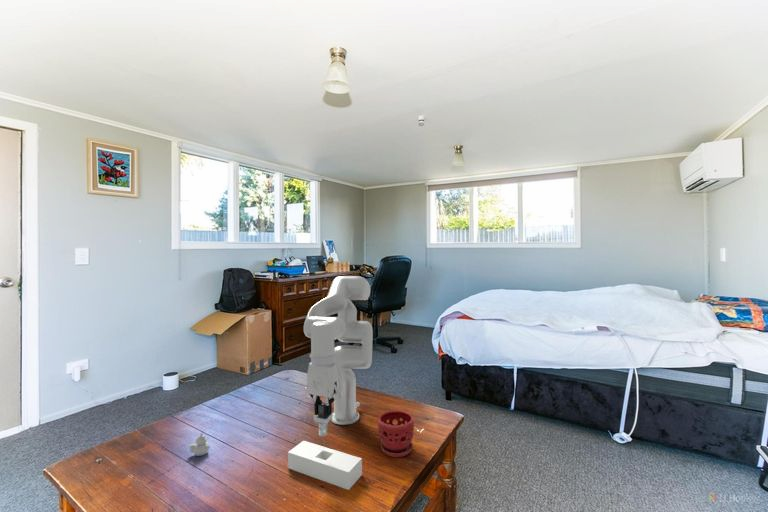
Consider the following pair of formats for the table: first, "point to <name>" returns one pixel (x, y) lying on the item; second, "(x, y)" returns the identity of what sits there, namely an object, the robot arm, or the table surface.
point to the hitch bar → (325, 464)
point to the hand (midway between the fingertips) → (323, 414)
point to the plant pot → (396, 433)
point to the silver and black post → (322, 419)
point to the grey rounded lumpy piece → (200, 446)
